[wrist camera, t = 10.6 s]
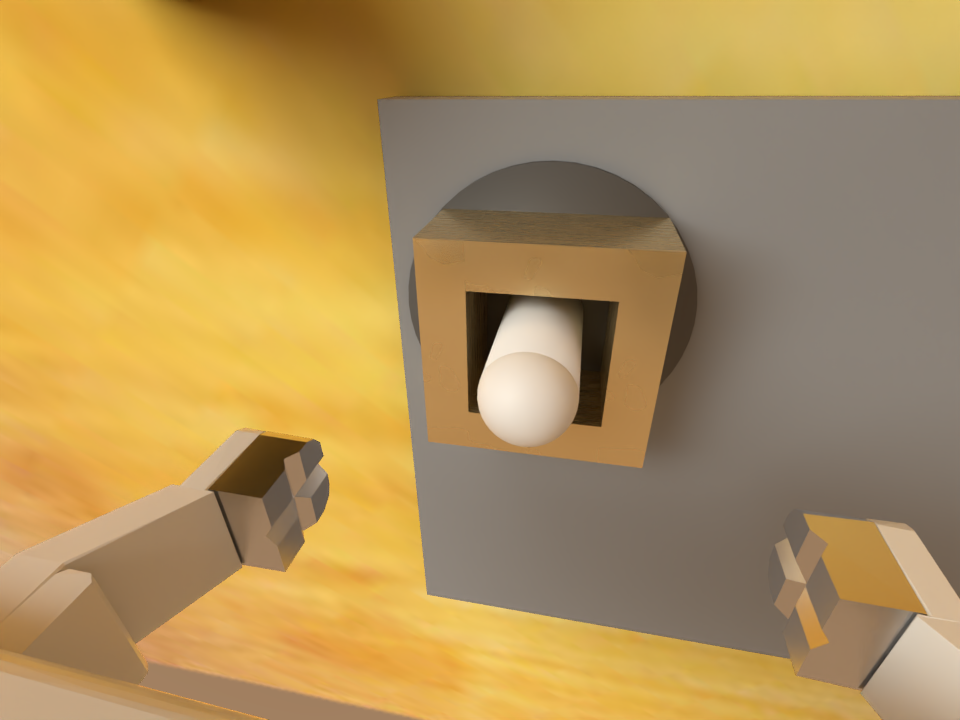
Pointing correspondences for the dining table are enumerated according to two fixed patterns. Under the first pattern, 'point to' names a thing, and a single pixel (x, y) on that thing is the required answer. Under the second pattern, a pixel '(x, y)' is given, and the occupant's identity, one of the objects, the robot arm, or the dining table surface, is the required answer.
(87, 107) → the dining table surface
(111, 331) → the dining table surface
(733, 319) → the post board
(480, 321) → the wooden collar
